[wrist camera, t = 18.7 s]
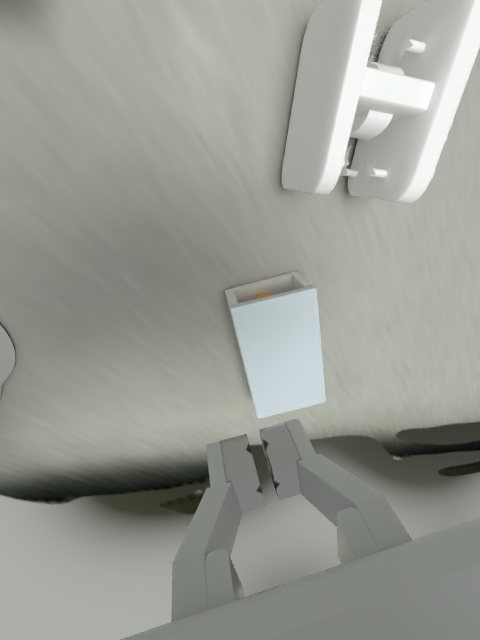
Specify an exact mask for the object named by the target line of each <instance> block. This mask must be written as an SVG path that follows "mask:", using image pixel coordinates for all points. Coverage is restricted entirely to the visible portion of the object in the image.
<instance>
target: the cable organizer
mask: <svg viewBox="0 0 480 640" xmlns="http://www.w3.org/2000/svg"><path fill="white" fill-rule="evenodd" d="M381 4H382V0H322V2H321V3H320V4H319V5H318V7H317V8H316V9H315V10H314V12H313V13H312V15H311V17H310V19H309V22H308V25H307V28H306V31H305V35H304V39H303V43H302V48H301V54H300V60H299V66H298V72H297V79H296V85H295V91H294V97H293V104H292V110H291V116H290V122H289V129H288V135H287V141H286V148H285V154H284V160H283V166H282V186H283V188H284V189H288V190H293V191H299V192H305V193H310V194H318V195H328V194H329V193H330V192H331V191H332V190H333V188H334V187H335V185H336V183H337V181H338V178H339V176H340V180H341V178H342V176H343V175H344V176H349V178H348V191H349V194H350V195H352V196H357V197H364V198H371V199H378V200H384V201H391V202H399V203H407V204H408V203H412V202H414V201H416V200H417V199H418V198H419V197H420V196H421V195H422V193H423V192H424V191H425V189H426V188H427V186H428V184H429V182H430V180H431V179H432V177H433V175H434V172H435V167H436V165H437V162H438V159H439V157H440V154H441V151H442V148H443V146H444V143H445V140H447V139H448V138H446V137H447V135H448V132H449V129H450V128H451V126H452V123H453V118H454V116H455V113H456V110H457V107H458V105H459V102H460V99H461V97H462V94H463V91H464V88H465V86H466V83H467V80H468V77H469V75H470V72H471V69H472V66H473V64H474V61H475V58H476V56H477V53H478V50H479V47H480V0H426V1H424V2H423V3H422V4H420V5H419V6H417V7H416V8H414V9H413V10H412V11H410V12H409V13H407V14H406V15H404V16H403V17H402V18H400V19H399V20H398V21H396V22H395V24H394V25H393V26H392V28H391V29H390V31H389V33H388V35H387V37H386V39H385V41H384V43H383V46H382V48H381V51H380V54H379V58H378V61H377V62H373V61H372V58H373V56H372V57H371V58H370V59H369V60H368V58H369V54H370V50H371V46H372V42H373V40H374V39H375V38H376V37H377V34H376V33H375V30H376V26H377V23H378V17H379V13H380V9H381ZM349 137H352V138H358V141H357V145H356V149H355V153H354V157H353V161H352V165H351V169H346V167H347V165H349V162H348V154H349V151H350V147H351V146H350V147H349V148H348V149H347V146H348V141H349Z"/></svg>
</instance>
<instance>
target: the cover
mask: <svg viewBox="0 0 480 640" xmlns="http://www.w3.org/2000/svg"><path fill="white" fill-rule="evenodd" d="M230 309H231V313H232V317H233V321H234V325H235V329H236V333H237V337H238V341H239V345H240V349H241V353H242V357H243V361H244V365H245V369H246V373H247V377H248V381H249V385H250V389H251V393H252V397H253V401H254V405H255V409H256V413H257V417H258V419H260V418H264V417H268V416H272V415H276V414H280V413H284V412H288V411H292V410H296V409H300V408H304V407H308V406H312V405H316V404H320V403H324V402H326V399H325V387H324V375H323V362H322V350H321V338H320V326H319V314H318V302H317V290H316V287H315V286H314V285H313V286H309V287H305V288H301V289H297V290H292V291H288V292H284V293H280V294H276V295H272V296H268V297H264V298H259V299H255V300H251V301H247V302H243V303H239V304H235V305H231V306H230Z"/></svg>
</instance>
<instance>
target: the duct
mask: <svg viewBox="0 0 480 640" xmlns="http://www.w3.org/2000/svg"><path fill="white" fill-rule="evenodd" d="M309 286H312V283H311V282H310V281H309V280H307V279H306V278H305V277H304V276H303V275H302V274H301V273H299V272H298V271H295V272H291V273H287V274H283V275H279V276H276V277H272V278H268V279H264V280H260V281H257V282H253V283H249V284H245V285H241V286H237V287H234V288H230V289H226V290H224V291H225V295H226V299H227V303H228V306H229V310H230V314H231V318H232V322H233V326H234V330H235V334H236V338H237V342H238V346H239V350H240V354H241V358H242V362H243V366H244V370H245V374H246V378H247V382H248V386H249V390H250V393H251V389H250V385H249V381H248V377H247V373H246V369H245V365H244V361H243V357H242V353H241V349H240V345H239V341H238V337H237V333H236V329H235V325H234V321H233V317H232V313H231V309H230V306H231V305H235V304H239V303H243V302H247V301H251V300H255V299H256V298H257V297H258V296H259V295H261V294H264V293H267V294H270V295H276V294H280V293H284V292H288V291H292V290H297V289H301V288H305V287H309ZM251 397H252V393H251ZM252 400H253V397H252ZM253 403H254V401H253ZM254 407H255V405H254ZM255 410H256V409H255Z"/></svg>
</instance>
